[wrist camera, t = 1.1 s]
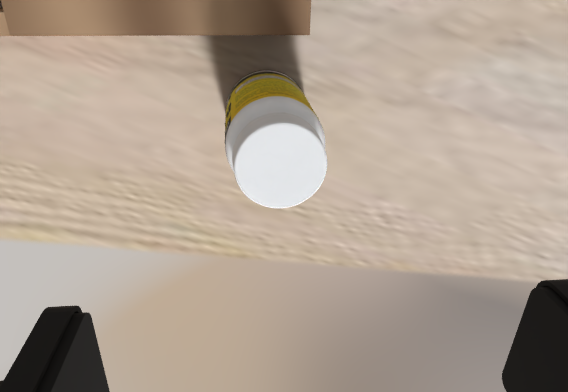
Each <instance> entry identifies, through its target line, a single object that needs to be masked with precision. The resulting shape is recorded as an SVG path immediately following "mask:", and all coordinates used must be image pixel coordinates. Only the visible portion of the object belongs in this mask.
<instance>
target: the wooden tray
mask: <svg viewBox="0 0 568 392" xmlns="http://www.w3.org/2000/svg"><path fill="white" fill-rule="evenodd" d="M1 4H2V7H3V8H0V36H122V35H310V13H311V0H1Z"/></svg>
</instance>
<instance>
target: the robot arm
mask: <svg viewBox="0 0 568 392" xmlns="http://www.w3.org/2000/svg"><path fill="white" fill-rule="evenodd" d="M502 380H503V385H504V388H505V389H506V391H507V392H568V279H564V280H545V281H541V282H540V283H538V285H537V287H536V288H534V289H533V290H532V291H531V293H530V295H529V298H528V301H527V304H526V307H525V310H524V313H523V316H522V318H521V321H520V324H519V327H518V330H517V332H516V335H515V338H514V341H513V344H512V347H511V350H510V353H509V355H508V358H507V361H506V364H505V367H504V370H503V373H502ZM0 392H109V388H108V384H107V380H106V375H105V371H104V367H103V363H102V359H101V355H100V351H99V347H98V343H97V338H96V334H95V330H94V326H93V323H92V318H91V315H90V314H89V313H82V311H81V308H80V307H79V306H61V307H48V308H46V309H45V310H44V311H43V312H42V314H41V315H40V317H39V319H38V321H37V323H36V324H35V326H34V328H33V330H32V331H31V333H30V335H29V337H28V339H27V340H26V342H25V344H24V346H23V347H22V349H21V351H20V353H19V354H18V356H17V358H16V360H15V362H14V363H13V365H12V367H11V369H10V370H9V373H8V374H7V376H6V377H5V379H4V380H3V381H0Z"/></svg>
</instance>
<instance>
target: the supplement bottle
mask: <svg viewBox="0 0 568 392" xmlns="http://www.w3.org/2000/svg"><path fill="white" fill-rule="evenodd" d="M225 150H226V156H227V159H228V162H229V164H230V166H231V168H232V170H233V171H234V174H235V178H236V181H237V183H238V185H239V187H240V189H241V190H242V191H243V193H244V194H245V195H246V196H247V197H248V198H250V199H251V200H252V201H254V202H256V203H258V204H260V205H263V206H265V207H270V208H287V207H291V206H295V205H297V204H300V203H302V202H304V201H305V200H307V199H308V198H309V197H311V196H312V195H313V194H314V193H315V192H316V191H317V190H318V188H319V187H320V186H321V184H322V182H323V180H324V178H325V174H326V170H327V155H326V151H325V135H324V131H323V128H322V126H321V123H320V121H319V119H318V117H317V116H316V114H315V113H314V111H313V109H312V108H311V106H310V104H309V102H308V101H307V99H306V97H305V95H304V94H303V92H302V90H301V89H300V87H299V86H298V85H297V84H296V83H295V82H294V81H293V80H292V79H291V78H290V77H288V76H287V75H285V74H282V73H280V72H276V71H269V70H265V71H258V72H254V73H251V74H249V75H247V76H245V77H244V78H243V79H241V80H240V81H239V82H238V83H237V84H236V85H235V86H234V87H233V89H232V91H231V92H230V94H229V97H228V100H227V104H226V122H225Z"/></svg>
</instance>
